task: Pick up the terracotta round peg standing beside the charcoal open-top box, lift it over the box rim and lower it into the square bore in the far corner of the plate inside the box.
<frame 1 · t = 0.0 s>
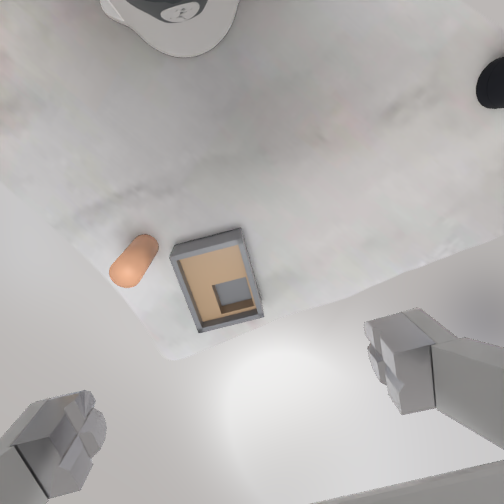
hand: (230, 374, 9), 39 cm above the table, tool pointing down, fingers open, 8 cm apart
wine bottle: (497, 83, 42), on the table
bore box: (220, 274, 50), on the table
peg: (145, 246, 48), on the table
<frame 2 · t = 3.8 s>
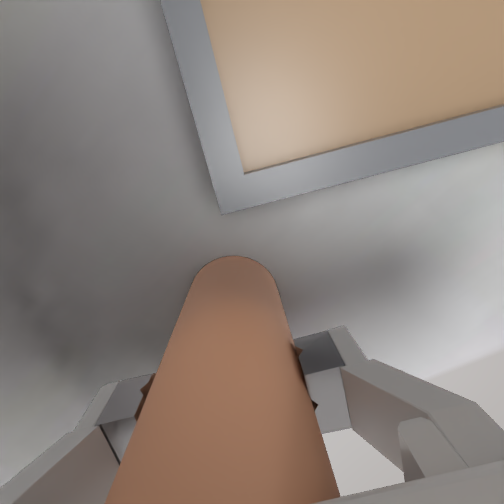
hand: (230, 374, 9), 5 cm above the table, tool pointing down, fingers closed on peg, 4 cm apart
peg: (234, 297, 14), on the table, touching gripper
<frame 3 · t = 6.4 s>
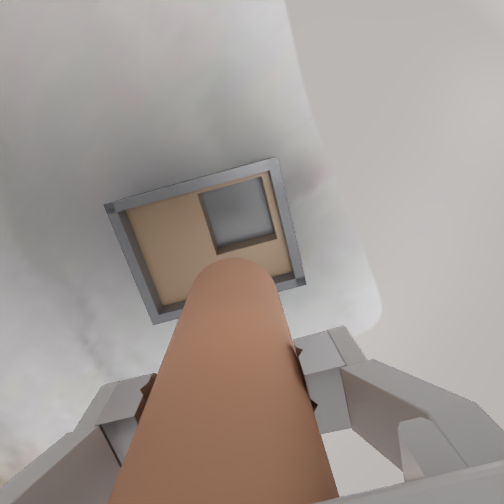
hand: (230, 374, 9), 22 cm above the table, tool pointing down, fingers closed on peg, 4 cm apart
bore box: (214, 233, 29), on the table
peg: (234, 299, 14), point 16 cm above the table, touching gripper
when the fingers open (7 cm above the table, at t = 9.4 s): peg drops 1 cm, resting on bore box.
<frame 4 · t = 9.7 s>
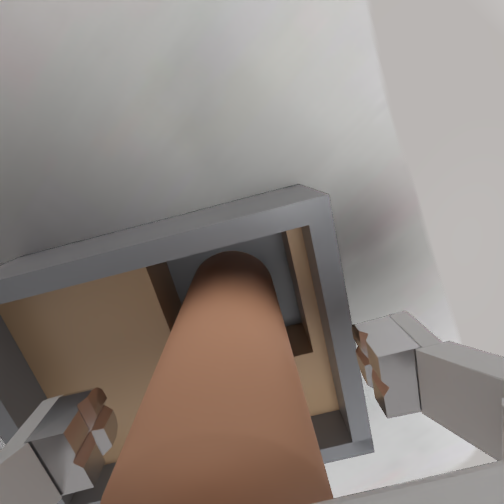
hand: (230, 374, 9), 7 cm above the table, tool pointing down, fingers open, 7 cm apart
bore box: (192, 319, 16), on the table
peg: (232, 289, 15), point 1 cm above the table, touching bore box
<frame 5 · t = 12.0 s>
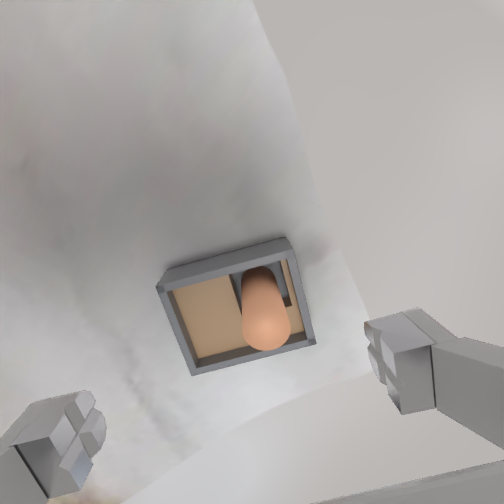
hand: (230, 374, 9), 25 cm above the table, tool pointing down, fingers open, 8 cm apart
bore box: (239, 295, 35), on the table
peg: (258, 282, 34), point 1 cm above the table, touching bore box
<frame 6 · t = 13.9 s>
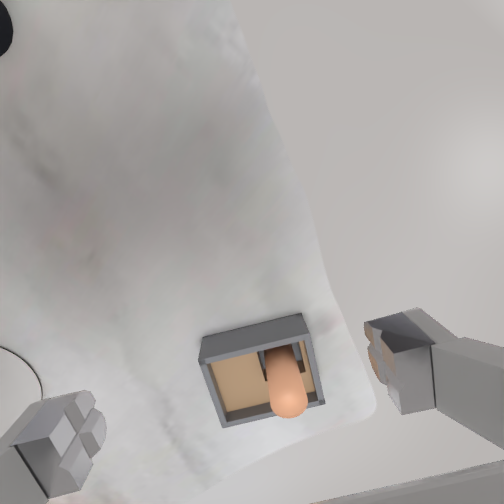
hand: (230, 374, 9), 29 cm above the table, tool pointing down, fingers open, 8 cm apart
bore box: (261, 358, 43), on the table
peg: (277, 349, 41), point 1 cm above the table, touching bore box
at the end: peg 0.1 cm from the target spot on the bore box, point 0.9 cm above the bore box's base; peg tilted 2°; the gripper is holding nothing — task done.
